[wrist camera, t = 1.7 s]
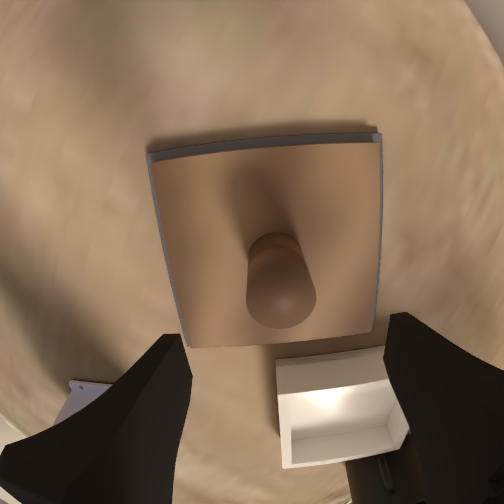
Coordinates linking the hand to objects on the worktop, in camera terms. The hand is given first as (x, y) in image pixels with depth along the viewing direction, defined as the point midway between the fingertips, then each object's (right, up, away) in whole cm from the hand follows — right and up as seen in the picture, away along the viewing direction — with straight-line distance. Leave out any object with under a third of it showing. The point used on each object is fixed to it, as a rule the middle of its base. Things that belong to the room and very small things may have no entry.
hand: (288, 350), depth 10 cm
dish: (+6, -9, +13) cm, 17 cm away
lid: (0, +3, +8) cm, 9 cm away
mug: (+14, -19, +18) cm, 30 cm away
